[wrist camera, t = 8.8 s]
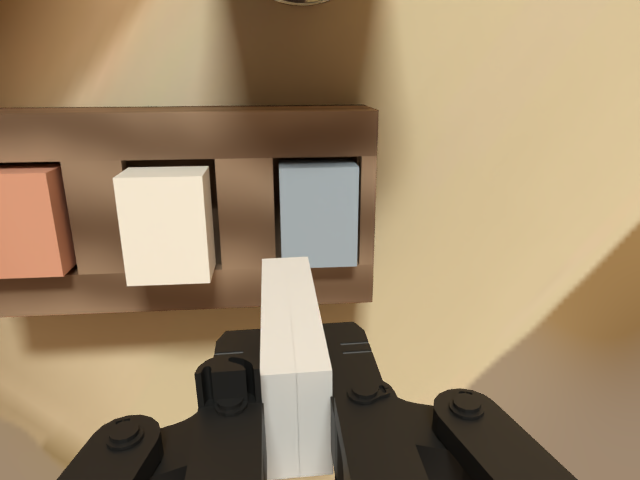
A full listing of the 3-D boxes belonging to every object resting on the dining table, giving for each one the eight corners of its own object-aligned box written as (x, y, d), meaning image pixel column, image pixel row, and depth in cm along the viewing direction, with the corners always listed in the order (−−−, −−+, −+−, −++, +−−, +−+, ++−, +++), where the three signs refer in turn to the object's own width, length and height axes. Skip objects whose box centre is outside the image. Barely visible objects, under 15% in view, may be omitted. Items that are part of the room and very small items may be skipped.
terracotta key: (-14, 164, 30) (-44, 174, 27) (66, 163, 30) (45, 173, 27) (6, 260, 32) (-19, 279, 29) (81, 258, 32) (63, 276, 29)
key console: (-17, 108, 32) (-68, 114, 27) (363, 104, 34) (378, 110, 29) (19, 285, 36) (-20, 318, 31) (359, 272, 38) (372, 302, 33)
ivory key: (128, 167, 29) (112, 177, 26) (208, 166, 29) (202, 176, 26) (140, 266, 31) (126, 286, 28) (215, 263, 31) (210, 283, 28)
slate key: (278, 159, 31) (279, 168, 28) (351, 158, 32) (359, 167, 29) (281, 252, 33) (281, 268, 30) (349, 249, 34) (356, 266, 31)
